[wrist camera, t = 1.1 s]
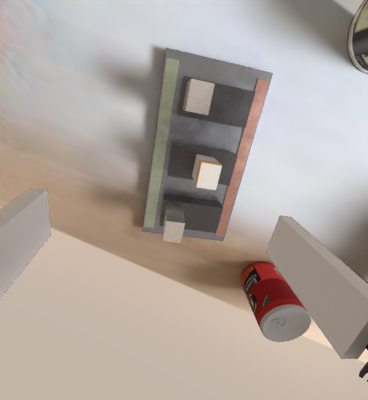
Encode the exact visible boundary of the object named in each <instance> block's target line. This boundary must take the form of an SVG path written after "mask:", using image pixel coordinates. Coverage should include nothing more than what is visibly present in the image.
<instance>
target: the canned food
mask: <svg viewBox="0 0 368 400" xmlns="http://www.w3.org/2000/svg"><path fill="white" fill-rule="evenodd" d="M241 284H242V287H243V289H244V292H245V294H246V296H247V299H248V301H249V304H250V306H251V308H252V311H253V313H254V316H255V318H256V320H257V323H258V325H259V327H260V329H261V331H262V333H263V335H264V336H265V337H266V338H267V339H269V340H272V341H277V342H284V341H289V340H293V339H295V338H297V337H299V336H301V335H302V334H304V333H305V332H306V331H307V329H308V328H309V326H310V323H311V319H310V316H309V314H308V312H307V310H306V309H305V307H304V306H303V304H302V303H301V301H300V300H299V299H298V297H297V296H296V294H295V293H294V292H293V290H292V289H291V287H290V286H289V284H288V283H287V282H286V280H285V279H284V277H283V276H282V275H281V273H280V272H279V270H278V269H277V268H276V267H275V266H274V265H272V264H271V263H268V262H257V263H253V264H251V265H249V266H248V267H247V268H246V269H245V270H244V271H243V273H242V275H241Z"/></svg>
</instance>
